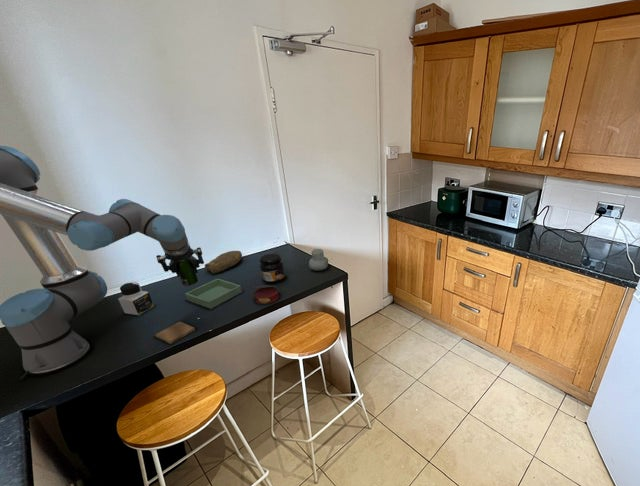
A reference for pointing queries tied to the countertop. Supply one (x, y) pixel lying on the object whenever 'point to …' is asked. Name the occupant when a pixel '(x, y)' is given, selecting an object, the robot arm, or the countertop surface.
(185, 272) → the beer can
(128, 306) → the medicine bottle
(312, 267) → the air freshener
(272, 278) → the supplement container
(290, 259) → the countertop surface
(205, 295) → the bin
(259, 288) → the canned food
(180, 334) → the coaster
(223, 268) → the brown oval lump
